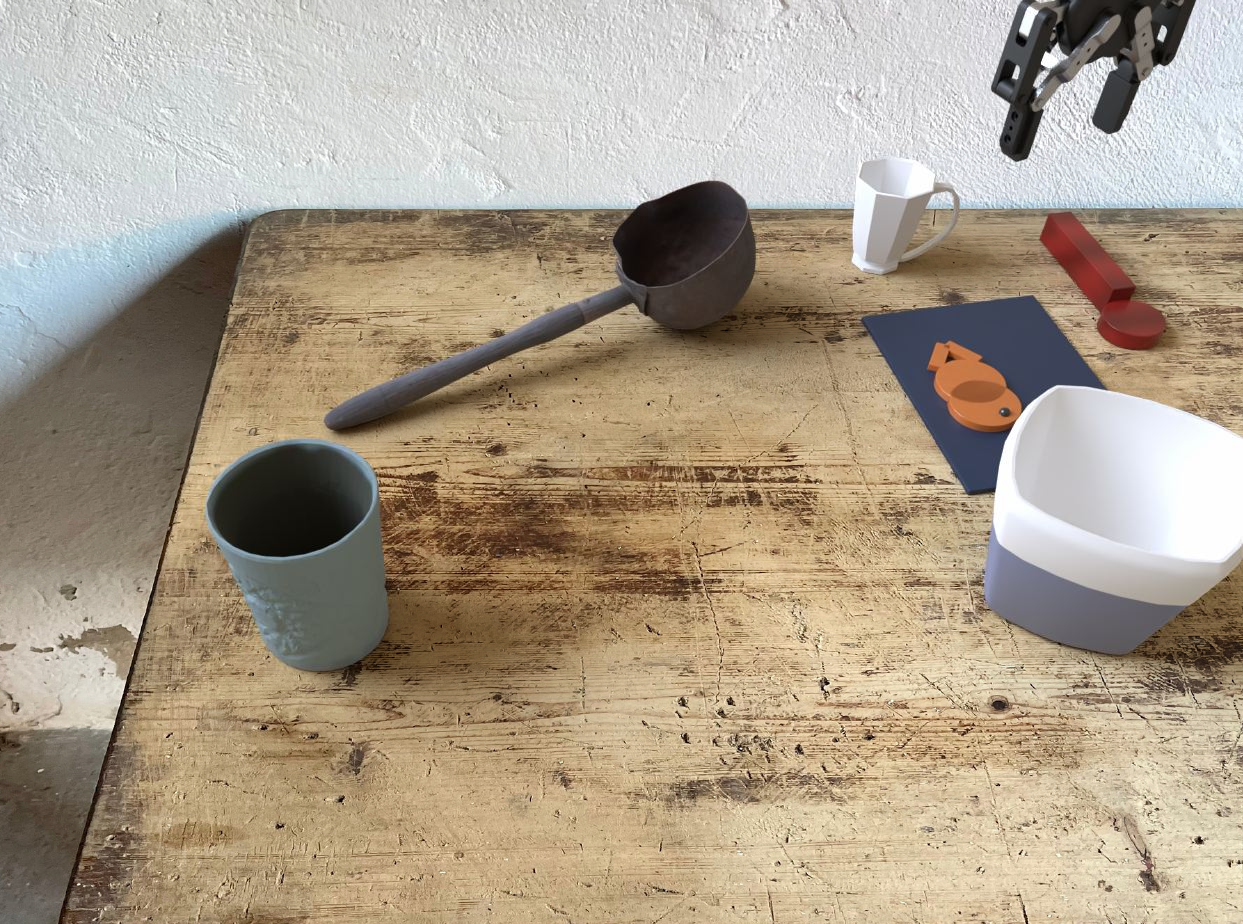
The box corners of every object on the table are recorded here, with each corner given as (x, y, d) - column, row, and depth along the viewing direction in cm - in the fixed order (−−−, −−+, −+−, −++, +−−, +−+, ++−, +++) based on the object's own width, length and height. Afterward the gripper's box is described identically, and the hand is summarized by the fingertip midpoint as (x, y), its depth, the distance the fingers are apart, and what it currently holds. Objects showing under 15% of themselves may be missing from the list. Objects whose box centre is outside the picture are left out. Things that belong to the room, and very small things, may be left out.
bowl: (984, 484, 84) (1035, 362, 75) (1197, 551, 80) (1277, 431, 71) (931, 625, 76) (981, 506, 67) (1165, 707, 72) (1252, 593, 63)
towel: (1031, 298, 99) (1033, 294, 98) (1161, 466, 86) (1164, 462, 85) (860, 320, 96) (861, 316, 96) (967, 495, 84) (969, 491, 83)
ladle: (790, 304, 94) (776, 198, 86) (402, 546, 90) (350, 460, 82) (712, 247, 101) (693, 145, 93) (350, 470, 97) (297, 384, 89)
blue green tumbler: (394, 561, 79) (372, 429, 69) (407, 674, 73) (385, 546, 63) (248, 579, 78) (205, 447, 68) (249, 694, 72) (202, 568, 62)
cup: (828, 241, 104) (846, 156, 97) (932, 235, 104) (957, 151, 98) (846, 285, 99) (867, 200, 93) (955, 279, 100) (983, 194, 94)
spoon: (1023, 241, 104) (1033, 215, 102) (1075, 235, 105) (1085, 209, 103) (1115, 353, 94) (1127, 327, 92) (1171, 345, 95) (1185, 319, 93)
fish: (910, 351, 93) (913, 339, 92) (972, 343, 94) (976, 331, 93) (964, 437, 87) (969, 425, 86) (1031, 427, 88) (1036, 416, 87)
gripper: (1105, -76, 64) (1015, 191, 77) (1286, -120, 68) (1171, 143, 81) (1018, -120, 68) (947, 141, 81) (1193, -159, 72) (1098, 97, 85)
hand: (1059, 142), depth 81 cm, fingers open, 8 cm apart
